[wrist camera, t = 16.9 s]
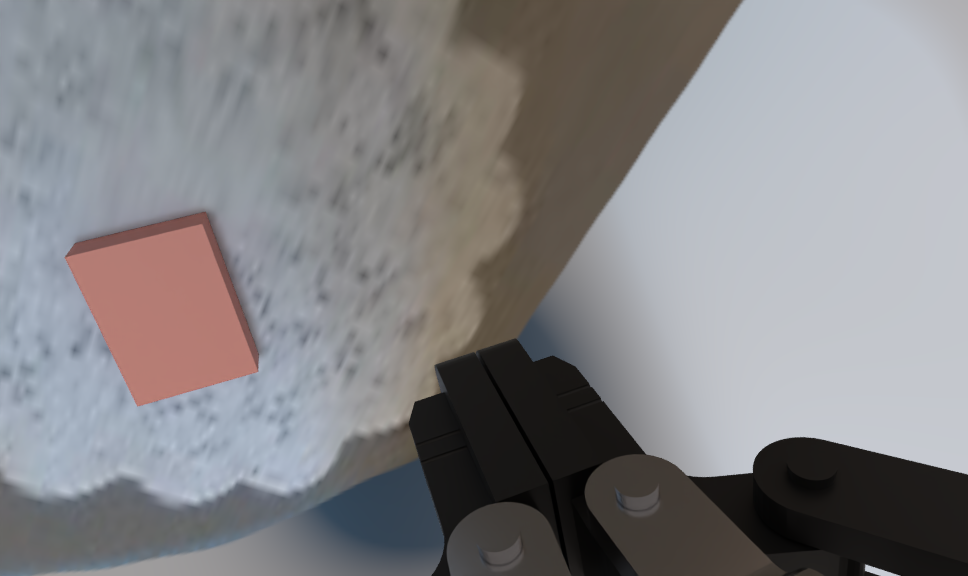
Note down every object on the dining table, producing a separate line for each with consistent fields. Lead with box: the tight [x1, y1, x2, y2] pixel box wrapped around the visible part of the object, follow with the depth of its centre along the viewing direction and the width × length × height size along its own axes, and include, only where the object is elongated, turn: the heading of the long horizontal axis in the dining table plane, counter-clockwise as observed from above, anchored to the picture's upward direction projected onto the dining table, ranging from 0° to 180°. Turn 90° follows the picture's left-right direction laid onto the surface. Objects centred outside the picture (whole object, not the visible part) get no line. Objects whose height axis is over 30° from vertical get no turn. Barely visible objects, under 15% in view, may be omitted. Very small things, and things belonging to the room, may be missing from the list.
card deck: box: [65, 212, 259, 406], centre depth 36 cm, size 9×2×6 cm
